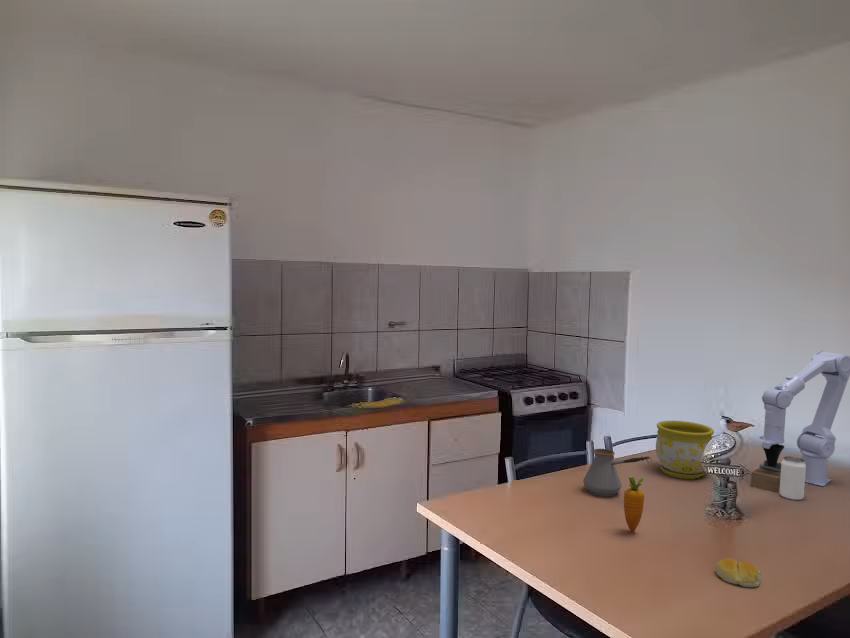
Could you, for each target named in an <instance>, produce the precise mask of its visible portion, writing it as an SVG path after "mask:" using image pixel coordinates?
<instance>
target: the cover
mask: <svg viewBox="0 0 850 638" xmlns="http://www.w3.org/2000/svg"><path fill="white" fill-rule="evenodd" d="M781 463H782V462H781ZM781 463H780V462H777V464H776V466H775V467H771V466H768V464H767V459H766V460H764V461H763V462H761V463H760V464H759V467H758V468H760V467H762V468H767V469H771V470H775V471H780V472H781Z"/></svg>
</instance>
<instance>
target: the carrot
mask: <svg viewBox="0 0 850 638" xmlns="http://www.w3.org/2000/svg"><path fill="white" fill-rule="evenodd" d="M628 480H629V483H630V484H629V483H628V485H629V487H628V488H626V489H625V490H624V493H623V511H624V517H625V521H626V524H627V527H628V529H629V531H630V532H631V533H634V532H635V531H636V529H637V528H638V526H639V524H640V523H641V518H642V516H643V512H644V502H645V493H644V492H643V491H642V490H641V489H639V487H640V486H642V485H643V481H644V477H640V478H639V480H638V482H636V480H635V477H634V476H632V475H629V476H628Z"/></svg>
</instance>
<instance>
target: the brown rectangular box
mask: <svg viewBox="0 0 850 638" xmlns="http://www.w3.org/2000/svg"><path fill="white" fill-rule="evenodd" d="M780 476H781V473H780V472H775V471H771V470H768V469H767V468H762V467H758V468H756V469H754V470H753V471H751V478H750V486H751V487H753V488H754V487H755V488H758V489H762V490H766V491H769V492H770V491H771V492H774V493H778V492H779V491H780Z"/></svg>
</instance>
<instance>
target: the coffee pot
mask: <svg viewBox="0 0 850 638" xmlns="http://www.w3.org/2000/svg"><path fill="white" fill-rule="evenodd" d="M592 452H593V453H594V458H593V460H592V462H591V464H590V466H589V468H588V470H587V472H586V473H585V476H584V478H583V481H582V482H583V485H584V487H585V488H586V489H587V490H588V491H589V493H591V494H593V495H595V496H600V497H612V496H614V495H616V494H617V493H618V492H619V491H620V490H621V488H622V487H623V486H622V482H621V480H620V477H619V474H618V472H617V469H616V468H617V467H616V465H621V464H628V463H637V462H640V461H642V462H643V461H645V460H646V462H647V464H652V463H653V459H652V457H650V456H641V457H632V458H628V459H623V460H617V461H613V457H614V455H615V454H616V453H615V451H614V450H612V449H611V450H610V449H607V448H595V449H593V451H592ZM649 459H650V462H649V461H648V460H649Z"/></svg>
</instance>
